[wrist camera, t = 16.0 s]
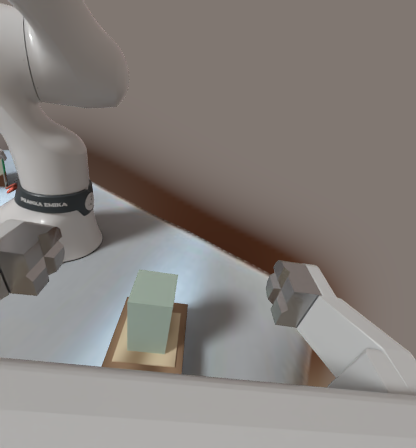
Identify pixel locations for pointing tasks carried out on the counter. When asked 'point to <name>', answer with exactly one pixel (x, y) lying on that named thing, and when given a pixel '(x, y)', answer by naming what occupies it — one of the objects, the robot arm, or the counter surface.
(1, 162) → the food container
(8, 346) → the counter surface
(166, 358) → the build plinth
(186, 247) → the counter surface
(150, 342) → the pillar block
